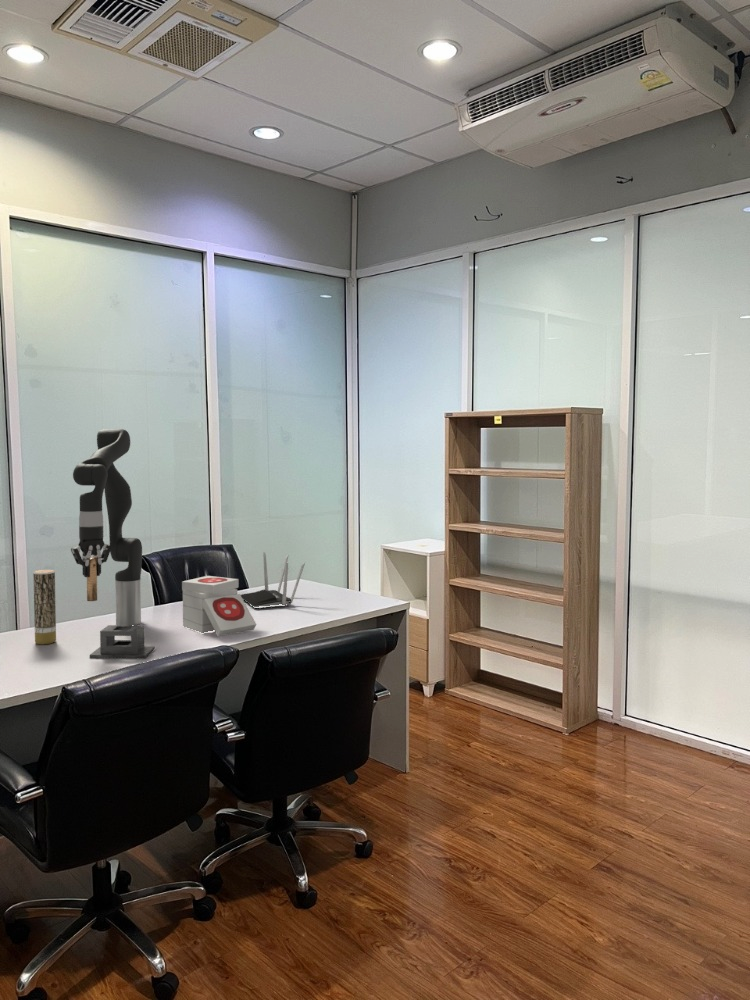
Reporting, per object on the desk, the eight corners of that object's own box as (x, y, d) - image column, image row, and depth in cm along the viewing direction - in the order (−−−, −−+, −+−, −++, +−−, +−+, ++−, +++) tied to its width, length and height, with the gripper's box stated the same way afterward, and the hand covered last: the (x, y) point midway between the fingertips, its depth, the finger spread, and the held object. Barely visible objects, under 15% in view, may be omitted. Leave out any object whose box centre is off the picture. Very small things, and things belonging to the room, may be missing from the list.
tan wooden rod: (85, 600, 255) (84, 558, 254) (94, 599, 257) (93, 557, 256) (90, 601, 252) (89, 559, 251) (99, 600, 255) (98, 558, 254)
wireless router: (235, 597, 346) (235, 553, 345) (284, 593, 356) (284, 551, 354) (256, 612, 316) (256, 564, 314) (309, 608, 326) (309, 561, 324)
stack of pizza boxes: (216, 642, 269) (216, 591, 268) (175, 626, 291) (175, 579, 290) (262, 633, 282) (262, 585, 280) (219, 619, 304) (219, 574, 303)
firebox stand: (101, 648, 259) (101, 624, 258) (154, 649, 259) (154, 624, 258) (89, 658, 248) (89, 632, 247) (145, 658, 248) (145, 632, 247)
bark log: (50, 638, 271) (48, 569, 269) (59, 642, 267) (58, 571, 265) (31, 642, 266) (29, 571, 264) (40, 646, 261) (39, 573, 260)
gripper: (105, 522, 261) (105, 572, 262) (65, 525, 250) (66, 577, 251) (116, 524, 256) (117, 575, 257) (76, 527, 245) (77, 580, 246)
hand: (91, 576), depth 254 cm, fingers closed on tan wooden rod, 3 cm apart
